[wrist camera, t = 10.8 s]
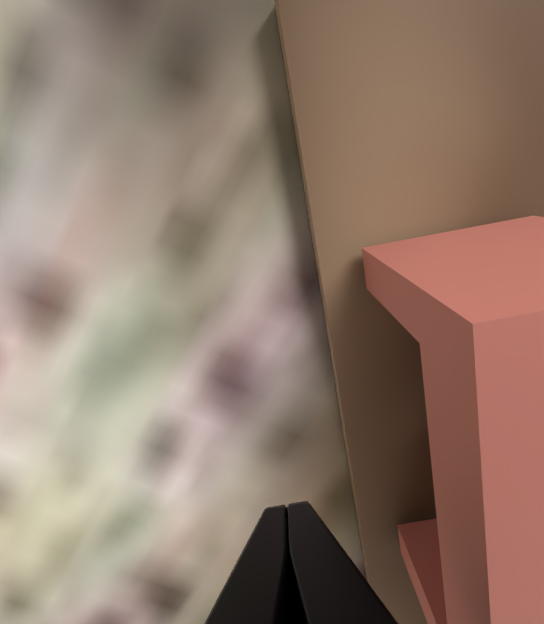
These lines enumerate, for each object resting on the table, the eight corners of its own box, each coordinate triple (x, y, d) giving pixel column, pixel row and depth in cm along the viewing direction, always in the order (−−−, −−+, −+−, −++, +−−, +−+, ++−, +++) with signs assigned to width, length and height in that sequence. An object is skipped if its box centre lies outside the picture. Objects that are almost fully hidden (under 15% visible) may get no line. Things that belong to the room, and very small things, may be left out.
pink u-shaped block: (532, 215, 10) (835, 257, 5) (538, 529, 13) (742, 785, 8) (361, 248, 11) (472, 323, 5) (401, 552, 13) (502, 822, 8)
